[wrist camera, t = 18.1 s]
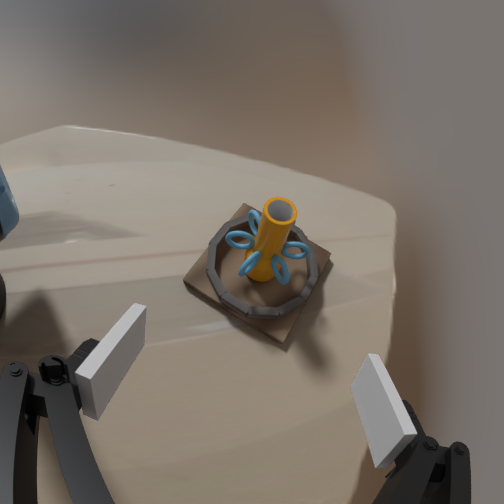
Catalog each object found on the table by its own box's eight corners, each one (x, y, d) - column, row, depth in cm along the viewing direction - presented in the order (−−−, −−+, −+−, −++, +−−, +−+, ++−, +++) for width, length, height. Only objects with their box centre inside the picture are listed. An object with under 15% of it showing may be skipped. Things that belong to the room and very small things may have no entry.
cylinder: (217, 288, 45) (220, 238, 32) (229, 231, 50) (236, 170, 37) (295, 302, 45) (329, 259, 32) (299, 245, 50) (328, 189, 37)
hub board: (183, 282, 46) (181, 274, 43) (243, 207, 54) (245, 195, 51) (281, 343, 44) (286, 339, 41) (328, 257, 52) (335, 247, 49)
